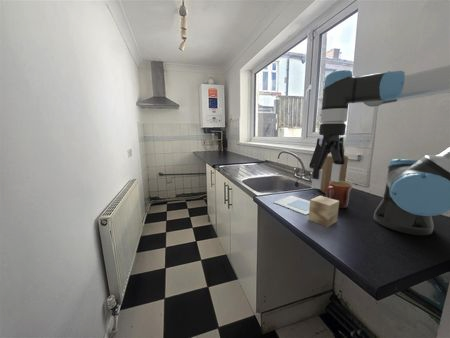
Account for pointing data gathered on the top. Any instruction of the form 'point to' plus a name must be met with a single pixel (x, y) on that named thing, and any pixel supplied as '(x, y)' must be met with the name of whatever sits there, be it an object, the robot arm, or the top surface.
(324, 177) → the wooden block
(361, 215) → the top surface
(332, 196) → the mug
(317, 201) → the oak block
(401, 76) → the robot arm
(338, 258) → the top surface
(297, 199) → the board
